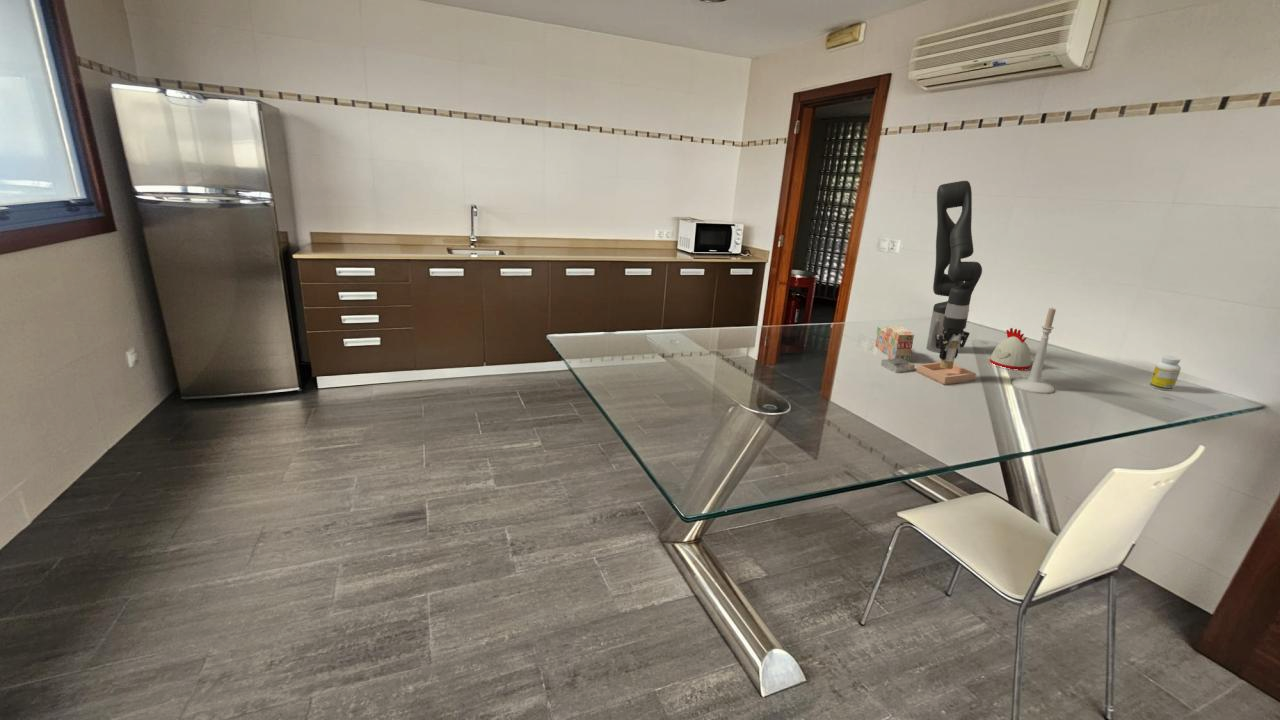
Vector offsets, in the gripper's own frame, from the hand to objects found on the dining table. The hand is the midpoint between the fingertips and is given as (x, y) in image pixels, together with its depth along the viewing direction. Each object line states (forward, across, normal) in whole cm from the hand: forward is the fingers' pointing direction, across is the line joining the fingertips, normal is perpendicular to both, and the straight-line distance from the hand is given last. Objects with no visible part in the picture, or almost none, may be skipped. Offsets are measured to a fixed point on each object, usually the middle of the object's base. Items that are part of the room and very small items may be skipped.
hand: (947, 358), depth 205 cm
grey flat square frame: (+7, +11, -13) cm, 18 cm away
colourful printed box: (+8, +1, -28) cm, 29 cm away
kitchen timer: (+8, -35, -3) cm, 36 cm away
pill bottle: (+7, -65, +32) cm, 73 cm away
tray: (+7, 0, 0) cm, 7 cm away
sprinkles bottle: (+4, 0, 0) cm, 4 cm away
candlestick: (+8, -22, +18) cm, 30 cm away
